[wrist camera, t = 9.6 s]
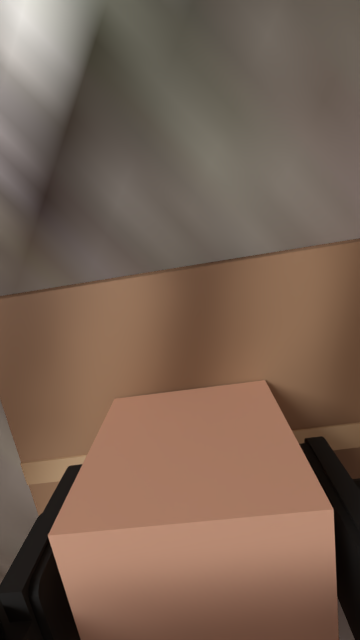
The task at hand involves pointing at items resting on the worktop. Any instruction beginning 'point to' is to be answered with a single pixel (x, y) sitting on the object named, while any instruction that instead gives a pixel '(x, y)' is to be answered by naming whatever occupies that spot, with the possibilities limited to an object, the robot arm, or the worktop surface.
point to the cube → (198, 524)
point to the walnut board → (184, 349)
